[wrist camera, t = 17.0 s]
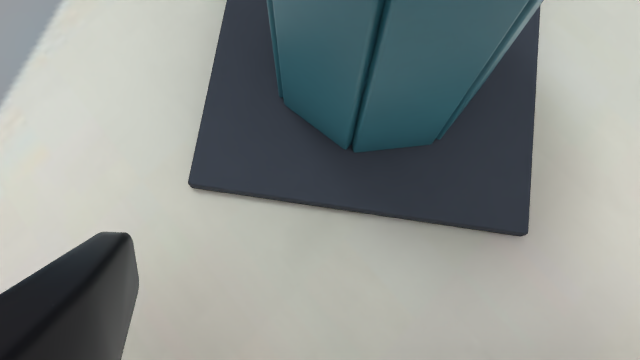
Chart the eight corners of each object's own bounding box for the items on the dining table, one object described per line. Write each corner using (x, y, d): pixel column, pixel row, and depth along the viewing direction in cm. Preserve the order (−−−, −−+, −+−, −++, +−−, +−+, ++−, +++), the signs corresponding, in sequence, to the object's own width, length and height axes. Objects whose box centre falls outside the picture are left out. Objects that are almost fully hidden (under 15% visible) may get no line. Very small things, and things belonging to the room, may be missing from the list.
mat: (190, 187, 17) (187, 183, 16) (249, -92, 19) (248, -102, 19) (522, 236, 17) (528, 234, 16) (538, -51, 19) (544, -61, 19)
